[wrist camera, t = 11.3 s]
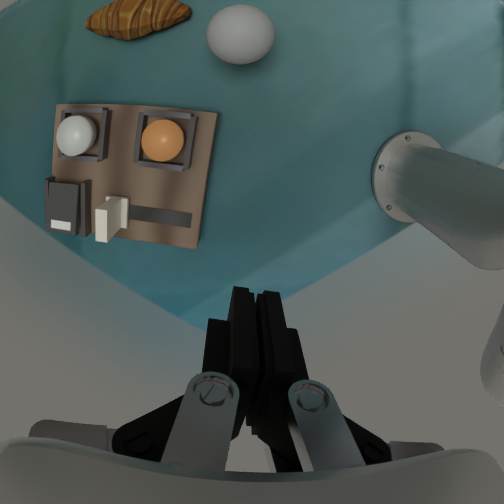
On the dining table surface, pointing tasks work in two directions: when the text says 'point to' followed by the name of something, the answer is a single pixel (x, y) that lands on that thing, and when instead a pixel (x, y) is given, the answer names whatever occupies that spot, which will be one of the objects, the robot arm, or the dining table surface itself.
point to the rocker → (64, 208)
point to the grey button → (76, 135)
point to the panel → (139, 171)
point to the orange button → (163, 140)
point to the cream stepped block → (111, 217)
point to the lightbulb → (240, 34)
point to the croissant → (136, 17)
